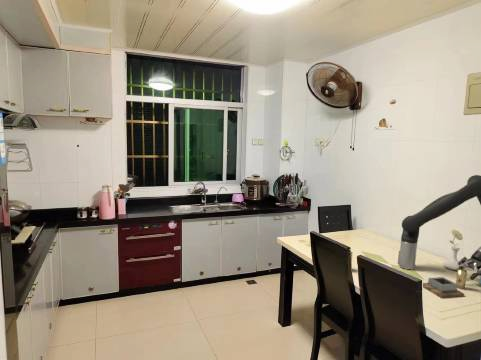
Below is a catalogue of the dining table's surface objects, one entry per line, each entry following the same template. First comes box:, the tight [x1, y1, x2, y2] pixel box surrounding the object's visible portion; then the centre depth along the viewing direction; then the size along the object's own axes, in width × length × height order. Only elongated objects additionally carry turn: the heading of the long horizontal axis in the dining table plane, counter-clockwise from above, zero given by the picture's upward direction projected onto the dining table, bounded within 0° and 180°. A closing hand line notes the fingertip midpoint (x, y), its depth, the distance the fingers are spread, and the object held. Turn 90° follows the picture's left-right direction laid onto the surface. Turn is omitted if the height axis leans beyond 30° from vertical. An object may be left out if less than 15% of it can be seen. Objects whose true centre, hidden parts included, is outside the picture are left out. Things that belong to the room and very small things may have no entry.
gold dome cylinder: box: [455, 269, 468, 290], centre depth 178 cm, size 4×4×10 cm
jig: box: [422, 276, 465, 299], centre depth 174 cm, size 14×14×6 cm
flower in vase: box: [442, 228, 464, 271], centre depth 206 cm, size 13×11×25 cm
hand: (463, 275), depth 179 cm, fingers open, 8 cm apart
